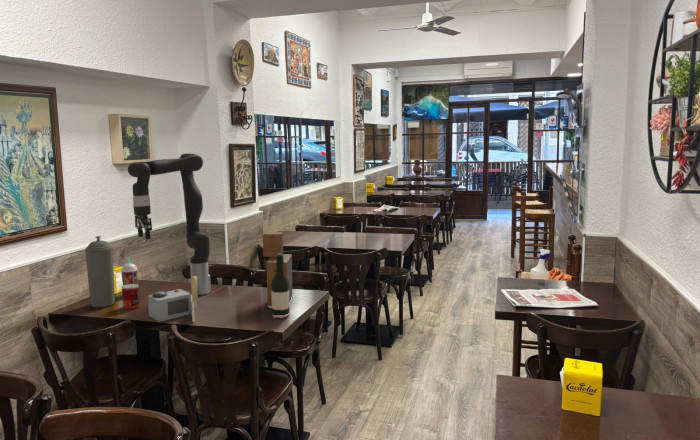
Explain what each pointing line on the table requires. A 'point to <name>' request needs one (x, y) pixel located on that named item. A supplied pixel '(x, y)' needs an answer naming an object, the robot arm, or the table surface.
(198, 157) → the robot arm
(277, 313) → the wine bottle
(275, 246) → the stacked wooden blocks
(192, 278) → the side door
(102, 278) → the canister
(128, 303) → the canned food
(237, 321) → the table surface
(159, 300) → the camera body
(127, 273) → the smoothie
